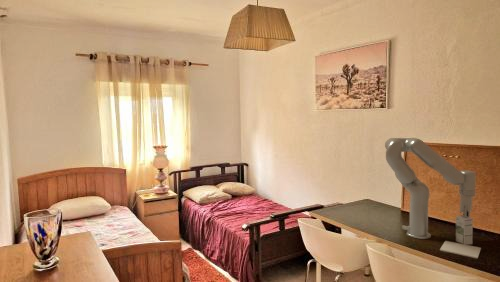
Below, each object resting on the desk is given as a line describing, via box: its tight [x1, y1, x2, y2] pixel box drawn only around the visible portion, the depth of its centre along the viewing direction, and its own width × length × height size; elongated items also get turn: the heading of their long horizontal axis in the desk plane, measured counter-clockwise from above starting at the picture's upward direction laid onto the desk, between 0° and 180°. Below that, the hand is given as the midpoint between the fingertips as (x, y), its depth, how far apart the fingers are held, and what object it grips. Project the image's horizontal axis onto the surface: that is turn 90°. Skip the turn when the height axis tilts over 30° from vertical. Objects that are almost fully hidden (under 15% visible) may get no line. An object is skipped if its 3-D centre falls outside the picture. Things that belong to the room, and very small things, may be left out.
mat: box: [439, 240, 482, 259], centre depth 165 cm, size 16×15×1 cm
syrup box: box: [455, 214, 474, 246], centre depth 174 cm, size 6×6×14 cm
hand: (466, 224), depth 180 cm, fingers closed
